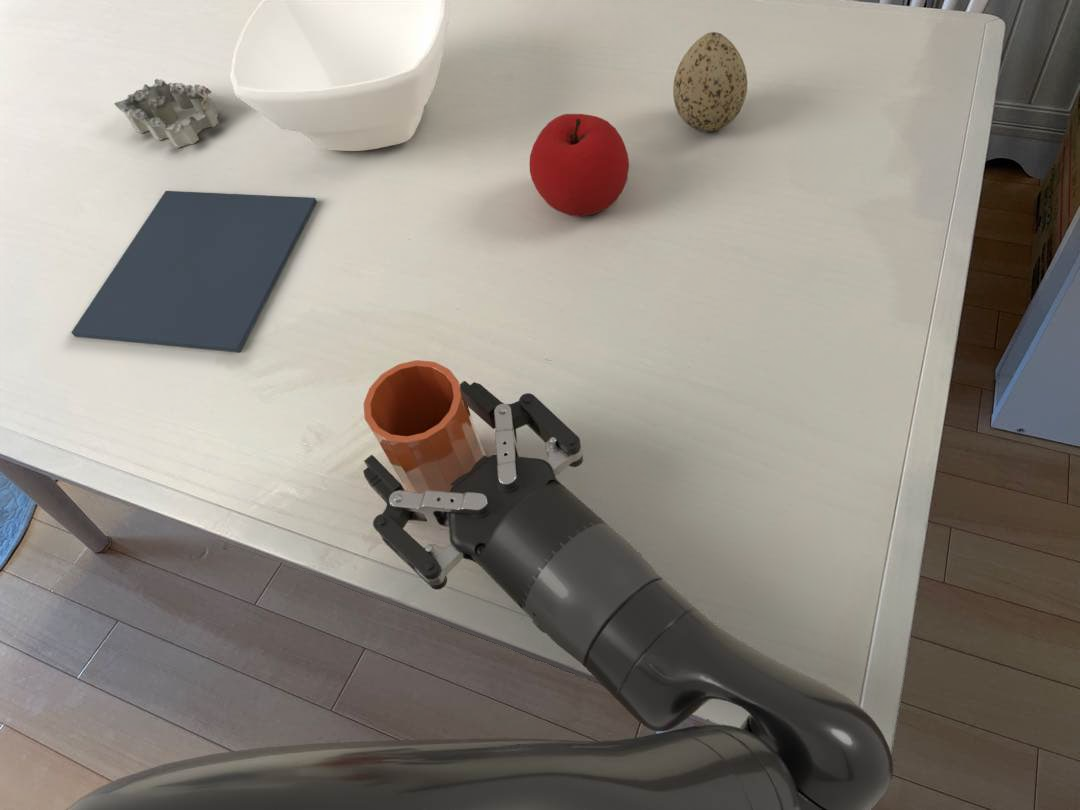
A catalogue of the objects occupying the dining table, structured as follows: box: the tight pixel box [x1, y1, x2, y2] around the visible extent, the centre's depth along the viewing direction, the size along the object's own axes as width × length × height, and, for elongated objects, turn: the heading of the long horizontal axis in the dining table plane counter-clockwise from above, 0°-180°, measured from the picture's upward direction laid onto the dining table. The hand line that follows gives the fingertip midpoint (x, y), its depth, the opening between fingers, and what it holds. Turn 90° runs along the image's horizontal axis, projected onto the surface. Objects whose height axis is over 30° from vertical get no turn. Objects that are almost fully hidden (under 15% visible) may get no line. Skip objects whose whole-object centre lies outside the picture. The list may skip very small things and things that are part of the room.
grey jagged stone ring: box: [113, 78, 220, 148], centre depth 93 cm, size 11×8×4 cm
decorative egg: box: [672, 31, 748, 132], centre depth 77 cm, size 7×7×10 cm
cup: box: [363, 359, 487, 493], centre depth 57 cm, size 7×7×11 cm
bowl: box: [229, 0, 451, 152], centre depth 84 cm, size 22×22×12 cm
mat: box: [70, 190, 318, 353], centre depth 79 cm, size 20×18×1 cm
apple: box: [528, 113, 630, 217], centre depth 74 cm, size 9×9×10 cm
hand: (417, 425), depth 57 cm, fingers open, 8 cm apart
